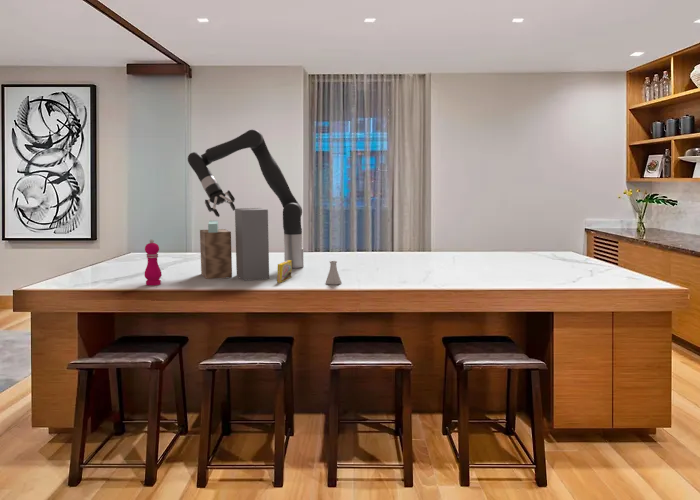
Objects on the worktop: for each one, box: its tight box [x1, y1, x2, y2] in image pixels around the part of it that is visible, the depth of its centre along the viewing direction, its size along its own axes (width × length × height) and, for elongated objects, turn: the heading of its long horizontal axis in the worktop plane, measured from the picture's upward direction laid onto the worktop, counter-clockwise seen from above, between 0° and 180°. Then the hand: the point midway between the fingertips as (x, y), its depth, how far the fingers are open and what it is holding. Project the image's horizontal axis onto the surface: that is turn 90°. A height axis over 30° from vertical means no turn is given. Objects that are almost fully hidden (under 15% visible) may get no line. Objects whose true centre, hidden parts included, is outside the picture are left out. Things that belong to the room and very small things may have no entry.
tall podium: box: [234, 207, 270, 281], centre depth 305 cm, size 12×16×32 cm
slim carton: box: [207, 219, 219, 233], centre depth 312 cm, size 4×22×4 cm, turn 10°
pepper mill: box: [144, 239, 163, 287], centre depth 287 cm, size 7×7×20 cm
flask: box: [325, 260, 342, 286], centre depth 287 cm, size 7×7×10 cm
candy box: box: [276, 260, 292, 284], centre depth 299 cm, size 16×2×8 cm, turn 168°
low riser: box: [199, 228, 233, 280], centre depth 311 cm, size 12×16×22 cm
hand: (226, 212), depth 328 cm, fingers open, 8 cm apart
